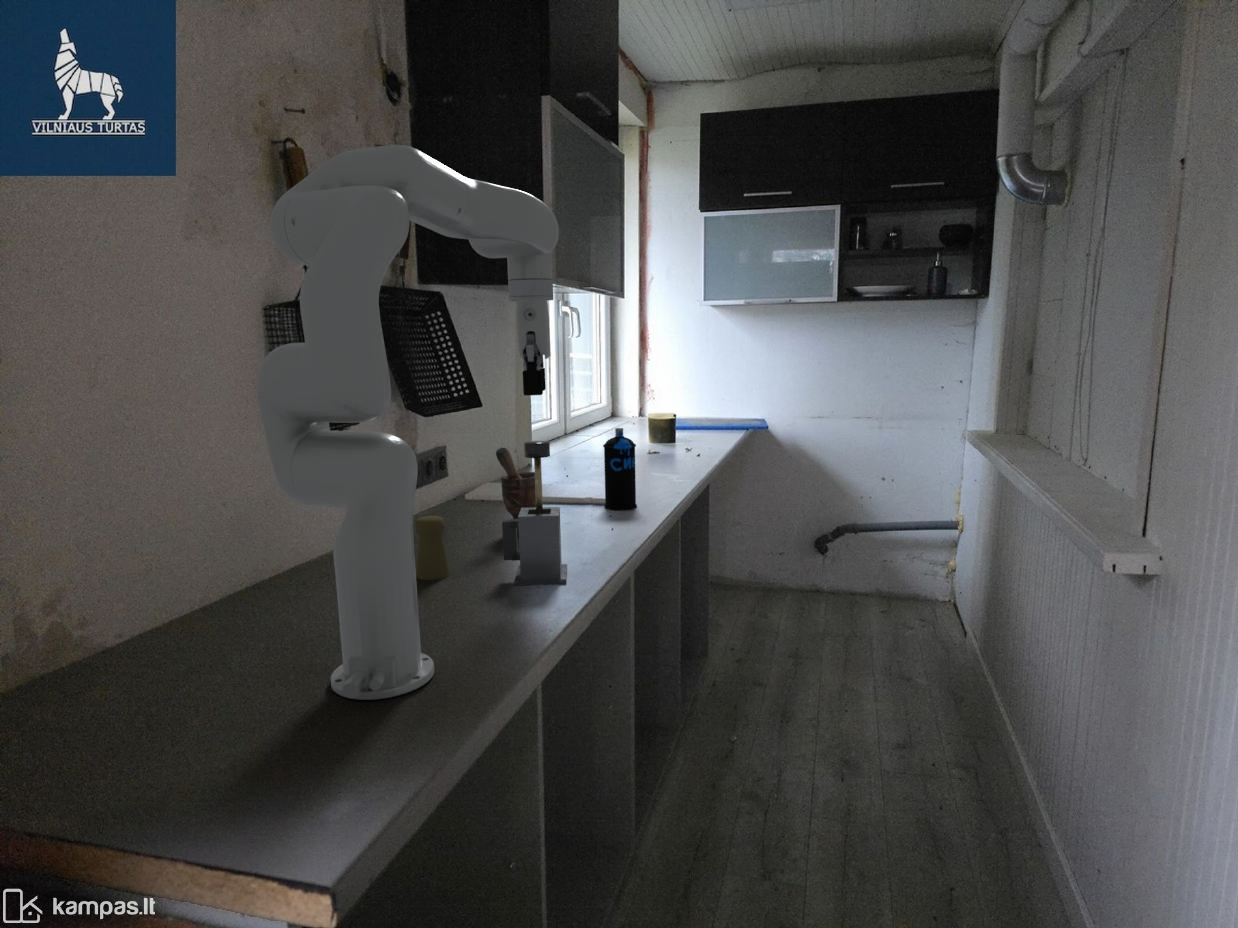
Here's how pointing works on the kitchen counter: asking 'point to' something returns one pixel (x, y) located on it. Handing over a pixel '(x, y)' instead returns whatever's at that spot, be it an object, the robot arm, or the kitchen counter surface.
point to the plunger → (537, 466)
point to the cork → (431, 549)
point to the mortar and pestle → (516, 486)
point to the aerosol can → (620, 472)
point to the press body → (535, 546)
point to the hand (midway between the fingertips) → (535, 392)
